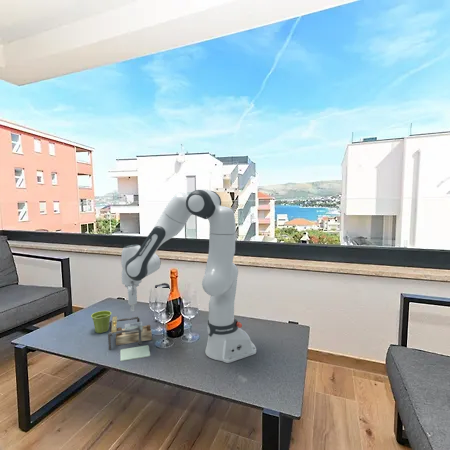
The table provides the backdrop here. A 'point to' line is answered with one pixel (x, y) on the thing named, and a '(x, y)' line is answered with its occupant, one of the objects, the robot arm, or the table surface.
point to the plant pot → (101, 321)
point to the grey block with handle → (133, 327)
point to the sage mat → (134, 353)
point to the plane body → (129, 338)
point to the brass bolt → (114, 324)
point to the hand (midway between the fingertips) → (132, 307)
